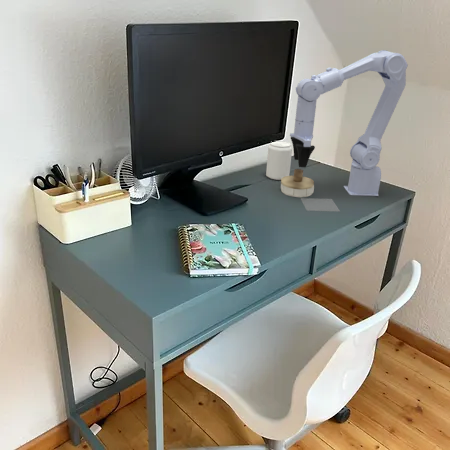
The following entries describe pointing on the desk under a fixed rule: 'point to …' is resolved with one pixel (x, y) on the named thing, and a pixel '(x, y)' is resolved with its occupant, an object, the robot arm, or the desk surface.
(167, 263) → the desk surface
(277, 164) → the beverage can
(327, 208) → the mat
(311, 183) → the lid
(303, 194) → the bowl
